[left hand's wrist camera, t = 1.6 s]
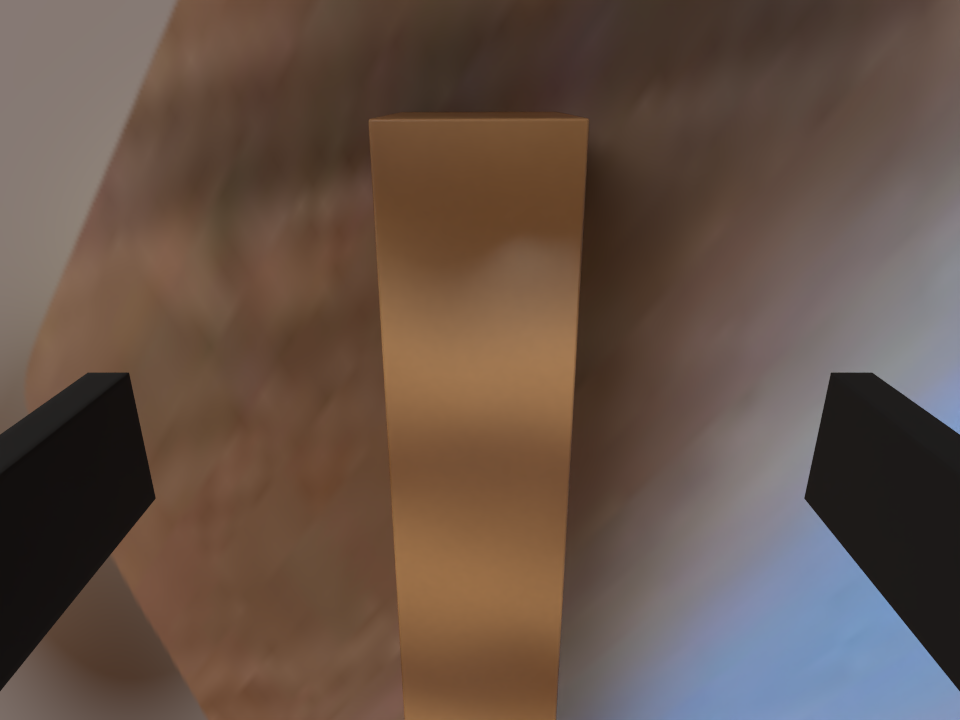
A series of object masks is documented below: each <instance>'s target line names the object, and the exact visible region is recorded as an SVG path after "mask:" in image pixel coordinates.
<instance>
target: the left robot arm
mask: <svg viewBox="0 0 960 720" xmlns="http://www.w3.org/2000/svg"><path fill="white" fill-rule="evenodd" d="M154 500H155V493H154V489H153V484H152V479H151V475H150V470H149V465H148V460H147V456H146V451H145V446H144V442H143V437H142V432H141V427H140V423H139V418H138V413H137V409H136V404H135V399H134V394H133V390H132V385H131V380H130V376H129V373H87V374H85V375H84V376H83V377H81V378H80V379H78V380H77V381H76V382H74V383H73V384H71V385H70V386H68V387H67V388H66V389H64V390H63V391H61V392H60V393H59V394H57V395H56V396H54V397H53V398H51V399H50V400H49V401H47V402H46V403H44V404H43V405H42V406H40V407H39V408H37V409H36V410H34V411H33V412H32V413H30V414H29V415H27V416H26V417H25V418H23V419H22V420H20V421H19V422H18V423H16V424H15V425H13V426H12V427H10V428H9V429H8V430H6V431H5V432H3V433H2V434H1V435H0V691H1V690H2V688H3V687H4V686H5V685H6V683H7V682H8V681H9V680H10V678H11V677H12V676H13V675H14V673H15V672H16V671H17V670H18V668H19V667H20V666H21V665H22V664H23V662H24V661H25V660H26V658H27V657H28V656H29V655H30V654H31V652H32V651H33V650H34V649H35V647H36V646H37V645H38V644H39V642H40V641H41V640H42V639H43V637H44V636H45V635H46V634H47V632H48V631H49V630H50V629H51V628H52V626H53V625H54V624H55V623H56V621H57V620H58V619H59V618H60V616H61V615H62V614H63V613H64V611H65V610H66V609H67V608H68V606H69V605H70V604H71V603H72V601H73V600H74V599H75V598H76V597H77V595H78V594H79V593H80V592H81V590H82V589H83V588H84V587H85V585H86V584H87V583H88V582H89V580H90V579H91V578H92V577H93V575H94V574H95V573H96V572H97V570H98V569H99V568H100V567H101V566H102V564H103V563H104V562H105V561H106V559H107V558H108V557H109V556H110V554H111V553H112V552H113V551H114V549H115V548H116V547H117V546H118V544H119V543H120V542H121V541H122V539H123V538H124V537H125V536H126V534H127V533H128V532H129V531H130V530H131V528H132V527H133V526H134V525H135V523H136V522H137V521H138V520H139V518H140V517H141V516H142V515H143V513H144V512H145V511H146V510H147V508H148V507H149V506H150V505H151V503H152V502H153V501H154ZM805 500H806V501H807V502H808V503H809V505H810V506H811V507H812V508H813V510H814V511H815V512H816V513H817V515H818V516H819V517H820V518H821V520H822V521H823V522H824V523H825V525H826V526H827V527H828V528H829V530H830V531H831V532H832V533H833V534H834V536H835V537H836V538H837V539H838V541H839V542H840V543H841V544H842V546H843V547H844V548H845V549H846V551H847V552H848V553H849V554H850V556H851V557H852V558H853V559H854V561H855V562H856V563H857V564H858V566H859V567H860V568H861V569H862V570H863V572H864V573H865V574H866V575H867V577H868V578H869V579H870V580H871V582H872V583H873V584H874V585H875V587H876V588H877V589H878V590H879V592H880V593H881V594H882V595H883V597H884V598H885V599H886V600H887V601H888V603H889V604H890V605H891V606H892V608H893V609H894V610H895V611H896V613H897V614H898V615H899V616H900V618H901V619H902V620H903V621H904V623H905V624H906V625H907V626H908V628H909V629H910V630H911V631H912V633H913V634H914V635H915V636H916V637H917V639H918V640H919V641H920V642H921V644H922V645H923V646H924V647H925V649H926V650H927V651H928V652H929V654H930V655H931V656H932V657H933V659H934V660H935V661H936V662H937V664H938V665H939V666H940V667H941V669H942V670H943V671H944V672H945V673H946V675H947V676H948V677H949V678H950V680H951V681H952V682H953V683H954V685H955V686H956V687H957V688H958V690H959V691H960V435H959V434H958V433H957V432H955V431H954V430H952V429H951V428H950V427H948V426H947V425H945V424H944V423H943V422H941V421H940V420H938V419H937V418H935V417H934V416H933V415H931V414H930V413H928V412H927V411H926V410H924V409H923V408H921V407H920V406H918V405H917V404H916V403H914V402H913V401H911V400H910V399H909V398H907V397H906V396H904V395H903V394H901V393H900V392H899V391H897V390H896V389H894V388H893V387H892V386H890V385H889V384H887V383H886V382H884V381H883V380H882V379H880V378H879V377H877V376H876V375H875V374H873V373H831V376H830V380H829V385H828V390H827V394H826V399H825V404H824V409H823V413H822V418H821V423H820V427H819V432H818V437H817V442H816V446H815V451H814V456H813V460H812V465H811V470H810V475H809V479H808V484H807V489H806V493H805Z"/></svg>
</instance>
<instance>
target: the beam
mask: <svg viewBox="0 0 960 720" xmlns="http://www.w3.org/2000/svg"><path fill="white" fill-rule="evenodd" d="M369 138H370V155H371V171H372V188H373V204H374V221H375V238H376V254H377V271H378V287H379V304H380V321H381V337H382V354H383V370H384V387H385V404H386V420H387V437H388V453H389V470H390V486H391V503H392V520H393V536H394V553H395V569H396V586H397V603H398V619H399V636H400V652H401V669H402V685H403V702H404V719H405V720H556V714H557V696H558V678H559V660H560V642H561V624H562V606H563V588H564V570H565V552H566V534H567V516H568V498H569V480H570V462H571V444H572V426H573V408H574V390H575V372H576V354H577V336H578V318H579V300H580V282H581V264H582V246H583V228H584V210H585V192H586V174H587V156H588V138H589V119H587V118H583V117H579V116H574V115H569V114H564V113H559V112H400V113H396V114H391V115H386V116H381V117H377V118H372V119H369Z"/></svg>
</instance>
